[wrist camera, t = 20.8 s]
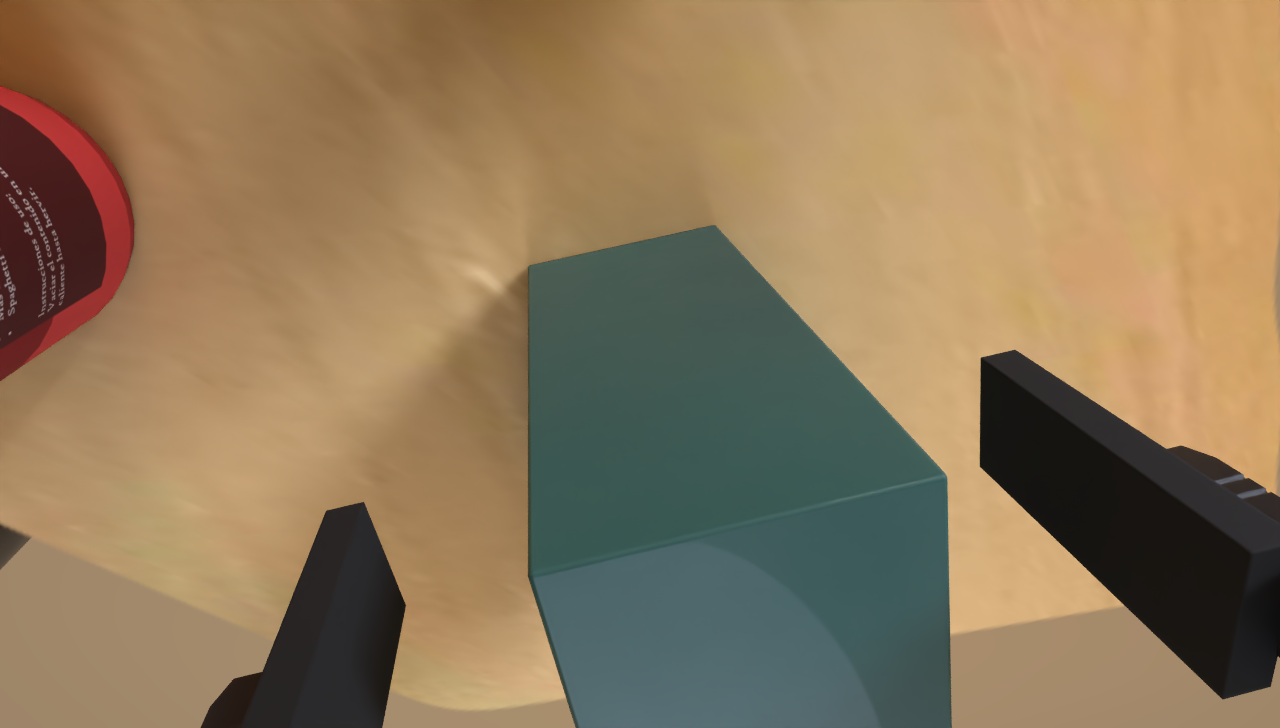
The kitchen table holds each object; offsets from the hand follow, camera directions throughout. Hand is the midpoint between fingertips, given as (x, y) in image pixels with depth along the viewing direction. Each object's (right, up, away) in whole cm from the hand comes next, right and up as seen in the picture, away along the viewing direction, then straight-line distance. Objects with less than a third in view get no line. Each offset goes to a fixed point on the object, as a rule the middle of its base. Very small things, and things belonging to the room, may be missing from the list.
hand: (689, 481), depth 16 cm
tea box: (0, 0, +4) cm, 4 cm away
